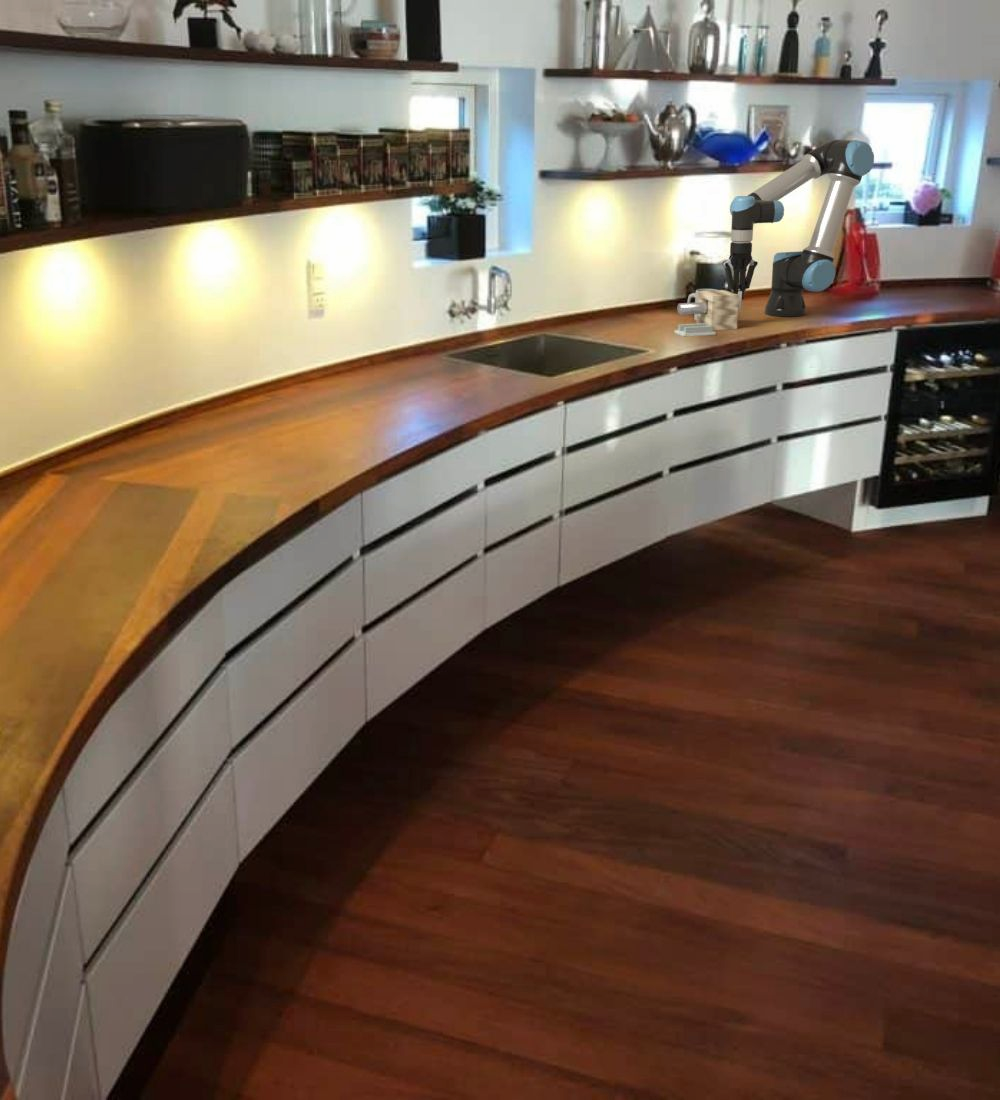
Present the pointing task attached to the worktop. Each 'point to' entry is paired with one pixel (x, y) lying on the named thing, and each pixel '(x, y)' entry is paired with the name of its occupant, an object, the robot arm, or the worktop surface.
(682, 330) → the cradle
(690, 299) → the mug
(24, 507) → the worktop surface
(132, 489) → the worktop surface
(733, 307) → the patterned beige cube
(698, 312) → the axle
